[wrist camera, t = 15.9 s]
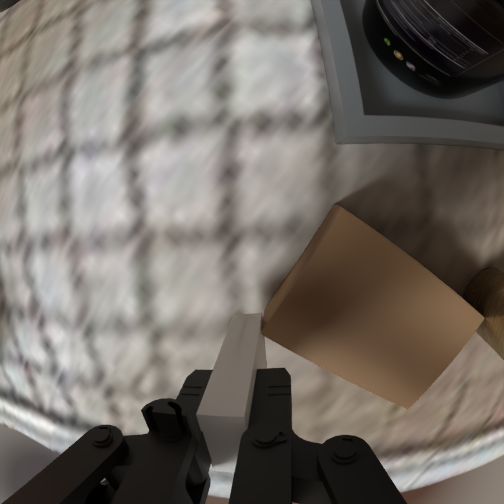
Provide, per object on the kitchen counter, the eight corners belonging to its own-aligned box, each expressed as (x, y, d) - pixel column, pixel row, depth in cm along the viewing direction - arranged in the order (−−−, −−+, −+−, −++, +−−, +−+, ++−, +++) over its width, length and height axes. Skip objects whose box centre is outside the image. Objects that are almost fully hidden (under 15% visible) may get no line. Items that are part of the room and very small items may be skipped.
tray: (301, -33, 10) (302, -60, 8) (467, -9, 9) (484, -26, 6) (336, 144, 12) (346, 136, 10) (511, 151, 11) (539, 149, 9)
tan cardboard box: (334, 203, 13) (344, 208, 11) (462, 299, 13) (484, 318, 11) (264, 309, 15) (259, 333, 12) (396, 382, 15) (407, 409, 12)
